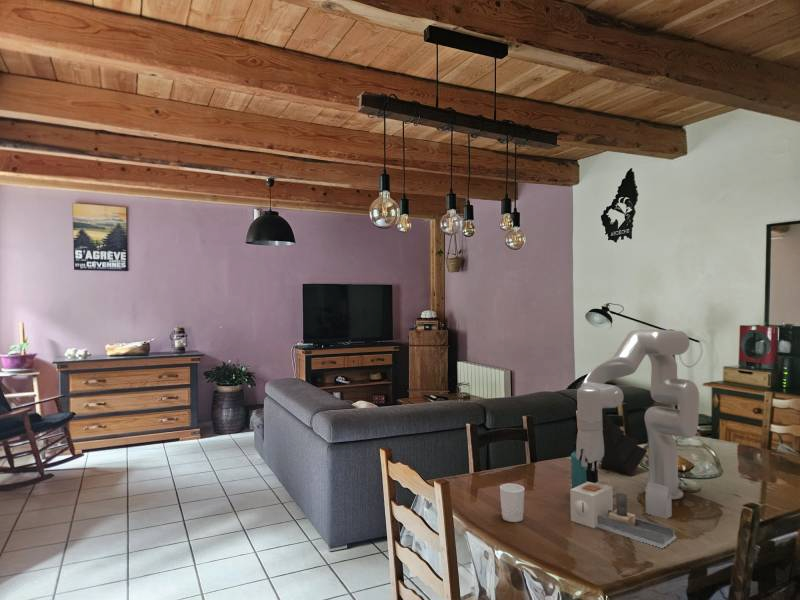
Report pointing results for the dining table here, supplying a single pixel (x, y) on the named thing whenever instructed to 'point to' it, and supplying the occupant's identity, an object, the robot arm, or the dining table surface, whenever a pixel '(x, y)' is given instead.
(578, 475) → the beverage bottle
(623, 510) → the carriage
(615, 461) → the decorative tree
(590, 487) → the button
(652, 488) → the light grey block
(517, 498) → the white cup
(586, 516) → the gauge cabinet
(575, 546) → the dining table surface
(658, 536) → the rail
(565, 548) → the dining table surface
